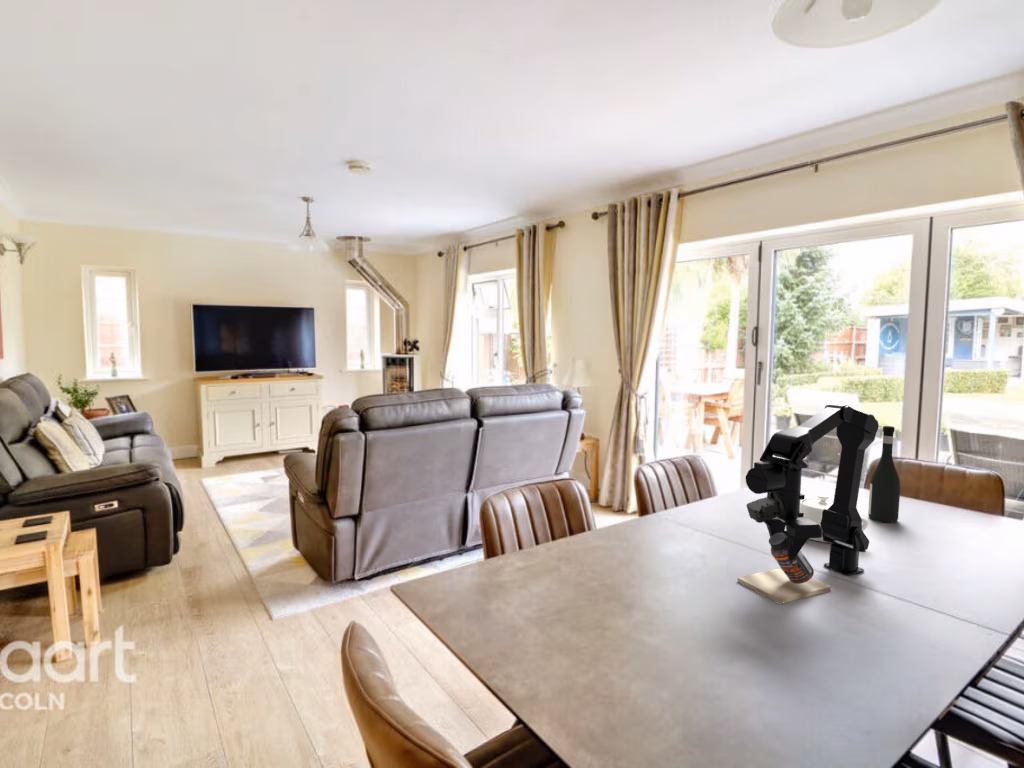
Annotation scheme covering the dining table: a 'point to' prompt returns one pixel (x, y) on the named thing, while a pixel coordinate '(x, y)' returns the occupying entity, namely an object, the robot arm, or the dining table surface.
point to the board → (782, 586)
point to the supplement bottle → (793, 569)
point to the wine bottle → (885, 484)
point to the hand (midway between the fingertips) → (783, 554)
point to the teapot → (819, 511)
